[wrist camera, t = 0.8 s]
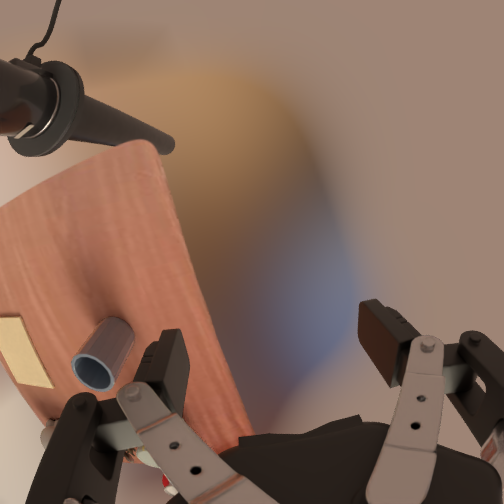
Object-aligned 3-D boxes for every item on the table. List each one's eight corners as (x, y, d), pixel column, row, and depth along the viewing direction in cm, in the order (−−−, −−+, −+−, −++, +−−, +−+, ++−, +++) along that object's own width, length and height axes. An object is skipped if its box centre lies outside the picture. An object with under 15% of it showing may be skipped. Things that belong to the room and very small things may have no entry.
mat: (-13, 316, 38) (-14, 318, 37) (21, 316, 38) (19, 317, 37) (19, 381, 42) (17, 382, 42) (54, 386, 42) (53, 388, 42)
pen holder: (93, 317, 39) (64, 353, 29) (128, 315, 39) (103, 353, 29) (106, 351, 40) (82, 390, 31) (140, 350, 40) (120, 392, 31)
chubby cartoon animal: (95, 438, 47) (85, 465, 39) (61, 436, 47) (49, 459, 39) (77, 417, 45) (64, 444, 37) (44, 415, 45) (30, 439, 37)
